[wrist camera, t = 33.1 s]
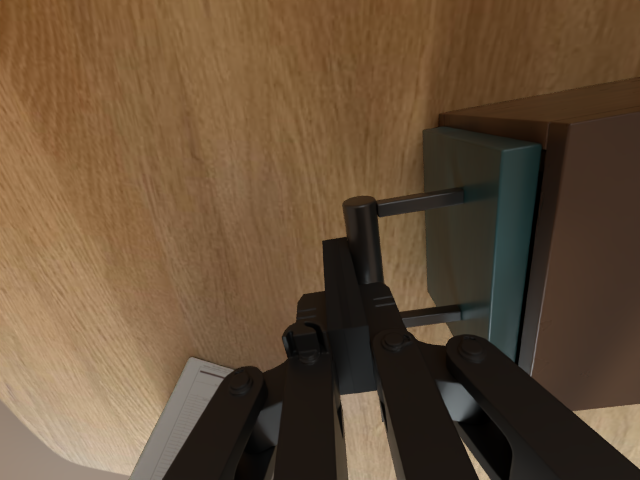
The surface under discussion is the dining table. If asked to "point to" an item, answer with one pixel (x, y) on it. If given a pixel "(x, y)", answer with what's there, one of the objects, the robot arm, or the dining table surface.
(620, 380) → the cabinet
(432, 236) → the drawer
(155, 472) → the supplement box
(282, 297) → the dining table surface
